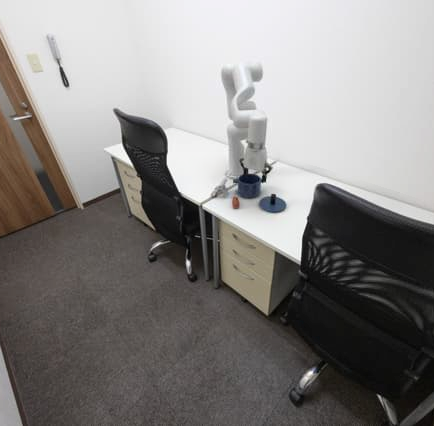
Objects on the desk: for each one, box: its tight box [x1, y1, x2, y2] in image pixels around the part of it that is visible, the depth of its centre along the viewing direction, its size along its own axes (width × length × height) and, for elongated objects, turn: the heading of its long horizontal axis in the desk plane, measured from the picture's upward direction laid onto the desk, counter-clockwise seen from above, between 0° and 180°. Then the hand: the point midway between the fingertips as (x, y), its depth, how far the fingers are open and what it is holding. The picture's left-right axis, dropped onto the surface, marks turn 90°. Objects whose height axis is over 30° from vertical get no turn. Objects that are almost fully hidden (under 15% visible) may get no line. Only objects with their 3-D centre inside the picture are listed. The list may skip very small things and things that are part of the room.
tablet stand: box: [210, 177, 229, 198], centre depth 129 cm, size 9×8×8 cm
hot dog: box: [232, 196, 240, 209], centre depth 122 cm, size 8×3×3 cm, turn 0°
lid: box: [258, 193, 287, 213], centre depth 120 cm, size 14×14×6 cm
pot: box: [232, 173, 267, 199], centre depth 130 cm, size 13×18×8 cm
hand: (254, 179), depth 113 cm, fingers open, 9 cm apart
